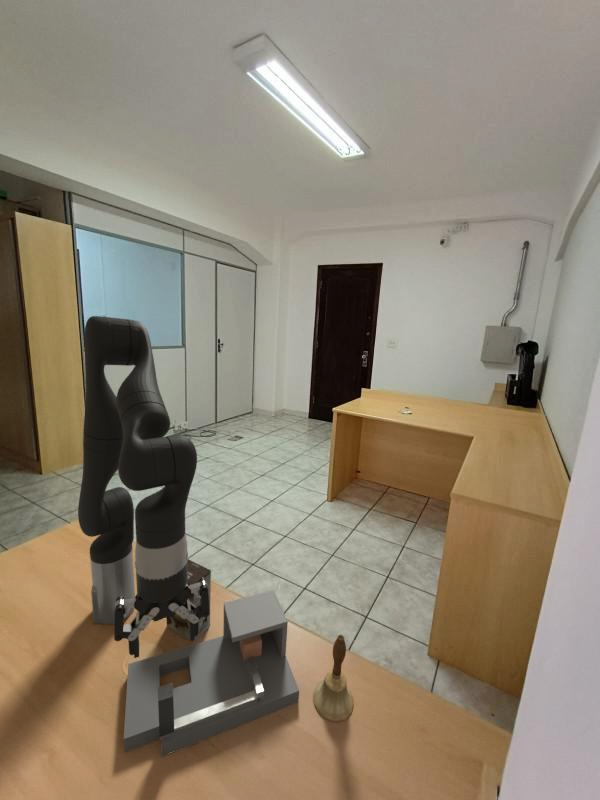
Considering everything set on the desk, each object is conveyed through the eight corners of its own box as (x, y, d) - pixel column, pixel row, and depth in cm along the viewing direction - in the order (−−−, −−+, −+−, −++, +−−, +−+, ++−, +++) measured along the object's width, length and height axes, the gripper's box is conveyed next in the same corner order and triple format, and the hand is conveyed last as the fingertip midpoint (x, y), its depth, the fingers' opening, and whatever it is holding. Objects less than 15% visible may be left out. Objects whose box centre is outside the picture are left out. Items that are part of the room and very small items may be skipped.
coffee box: (165, 627, 86) (163, 571, 83) (184, 609, 92) (183, 555, 88) (192, 644, 82) (192, 586, 79) (211, 624, 88) (211, 569, 84)
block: (243, 660, 76) (244, 645, 75) (239, 644, 80) (239, 630, 79) (261, 654, 78) (262, 640, 77) (256, 639, 81) (257, 625, 80)
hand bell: (357, 689, 75) (365, 627, 71) (347, 730, 67) (355, 663, 63) (320, 673, 77) (326, 613, 74) (307, 710, 70) (312, 645, 66)
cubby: (123, 772, 59) (119, 716, 56) (129, 675, 75) (126, 627, 72) (298, 702, 71) (302, 653, 69) (271, 631, 87) (273, 590, 84)
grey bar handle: (159, 742, 61) (158, 701, 59) (158, 695, 68) (157, 657, 66) (264, 702, 68) (265, 664, 66) (253, 664, 75) (254, 629, 73)
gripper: (205, 537, 61) (205, 615, 64) (112, 554, 55) (118, 638, 59) (212, 565, 54) (212, 651, 58) (107, 588, 48) (114, 681, 52)
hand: (164, 644), depth 58 cm, fingers open, 8 cm apart
